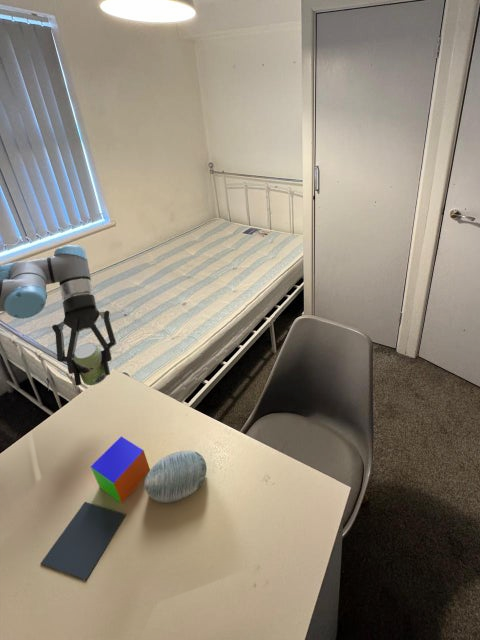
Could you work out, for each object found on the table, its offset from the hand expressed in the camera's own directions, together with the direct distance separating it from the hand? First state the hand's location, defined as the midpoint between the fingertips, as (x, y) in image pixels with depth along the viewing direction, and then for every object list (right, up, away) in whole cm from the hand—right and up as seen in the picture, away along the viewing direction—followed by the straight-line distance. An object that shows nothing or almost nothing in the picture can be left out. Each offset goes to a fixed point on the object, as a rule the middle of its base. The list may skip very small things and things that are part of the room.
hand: (93, 379), depth 85 cm
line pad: (+9, -27, -17) cm, 33 cm away
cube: (+12, -22, -6) cm, 26 cm away
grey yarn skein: (+26, -23, -8) cm, 35 cm away
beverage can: (-2, -2, +4) cm, 5 cm away
